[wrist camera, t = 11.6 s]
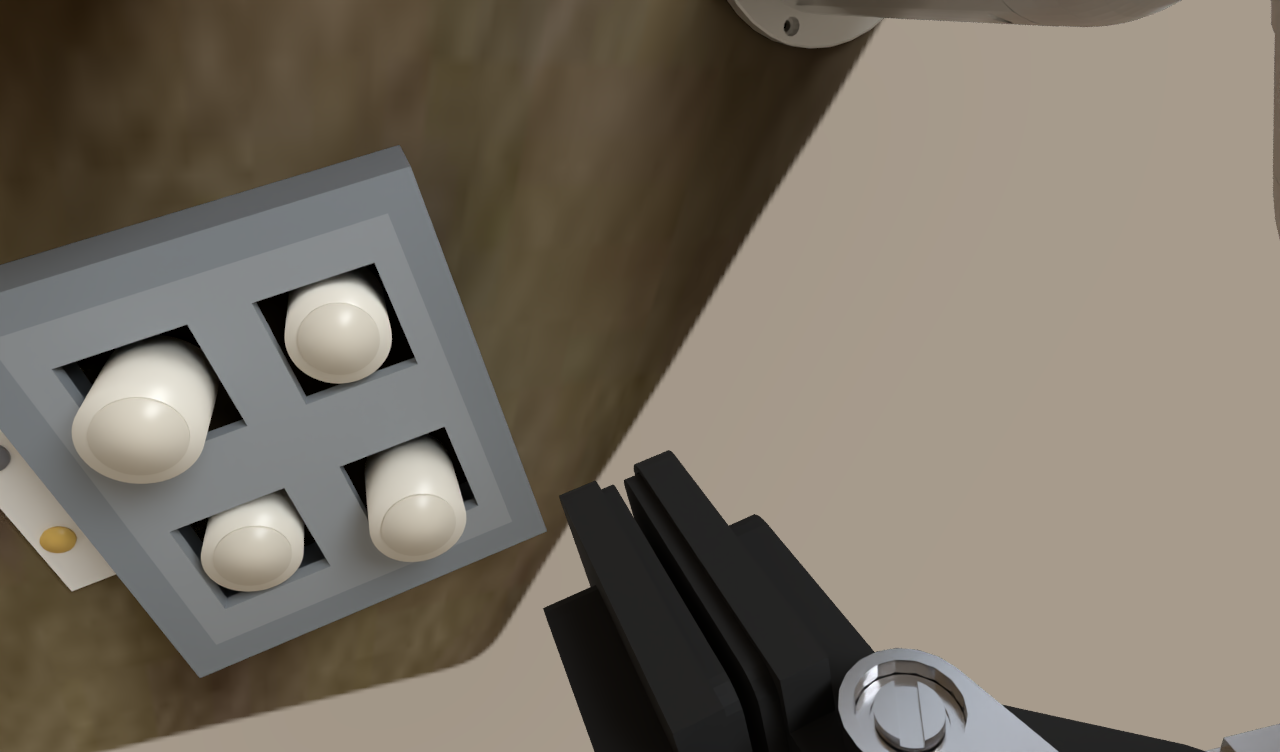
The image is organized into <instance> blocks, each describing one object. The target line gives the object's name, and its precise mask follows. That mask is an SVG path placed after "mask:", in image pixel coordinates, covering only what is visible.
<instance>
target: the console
mask: <svg viewBox="0 0 1280 752" xmlns="http://www.w3.org/2000/svg"><path fill="white" fill-rule="evenodd" d="M372 263H375V265H376V268H377V270H378V272H379V275H380V277H381V279H382V282H383V284H384V286H385V289H386V291H387V293H388V296H389V298H390V300H391V303H392V305H393V307H394V310H395V312H396V314H397V317H398V319H399V321H400V324H401V326H402V328H403V331H404V333H405V335H406V338H407V340H408V342H409V345H410V347H411V349H412V352H413V354H414V356H415V358H412V359H409V360H406V361H403V362H401V363H398V364H395V365H392V366H390V367H387V368H384V369H381V370H378V371H376V372H373V373H372V374H370V375H369V376H367V377H365V378H363V379H360V380H358V381H354V382H349V383H342V384H340V385H337V386H334V387H331V388H329V389H326V390H323V391H320V392H317V393H315V394H312V395H309V396H306V395H305V393H304V391H303V389H302V388H301V386H300V384H299V382H298V380H297V378H296V376H295V374H294V373H293V371H292V369H291V367H290V365H289V363H288V361H287V359H286V357H285V356H284V354H283V352H282V350H281V348H280V346H279V344H278V342H277V340H276V339H275V337H274V335H273V333H272V331H271V329H270V327H269V325H268V324H267V322H266V320H265V318H264V316H263V314H262V312H261V310H260V308H259V307H258V305H257V303H256V302H257V301H260V300H263V299H266V298H269V297H272V296H275V295H278V294H281V293H284V292H287V291H290V290H293V289H296V288H299V287H302V286H305V285H308V284H311V283H314V282H317V281H320V280H323V279H326V278H329V277H332V276H335V275H338V274H341V273H344V272H348V271H351V270H354V269H357V268H360V267H363V266H366V265H369V264H372ZM184 325H188V327H189V328H190V330H191V332H192V333H193V335H194V337H195V339H196V340H197V342H198V344H199V345H200V347H201V349H202V350H203V352H204V354H205V355H206V357H207V359H208V360H209V362H210V364H211V365H212V367H213V369H214V371H215V372H216V374H217V376H218V377H219V379H220V381H221V382H222V384H223V386H224V387H225V389H226V391H227V392H228V394H229V396H230V397H231V399H232V401H233V403H234V404H235V406H236V408H237V409H238V411H239V413H240V414H241V416H242V418H243V419H242V420H240V421H237V422H234V423H231V424H229V425H226V426H223V427H220V428H218V429H215V430H212V431H209V432H207V436H206V440H205V444H204V447H203V450H202V453H201V454H200V456H199V458H198V459H197V460H196V462H195V463H194V464H193V465H192V466H191V467H190V468H189V469H187V470H186V471H185V472H183V473H181V474H180V475H178V476H176V477H173V478H171V479H168V480H165V481H161V482H156V483H148V484H135V483H126V482H121V481H117V480H114V479H111V478H109V477H106V476H104V475H102V474H100V473H98V472H97V471H95V470H94V469H92V468H91V467H90V466H89V465H87V464H86V463H85V462H84V461H83V459H82V458H81V457H80V456H79V454H78V452H77V451H76V449H75V446H74V444H73V440H72V424H73V421H74V418H75V416H76V414H77V412H78V410H79V408H80V407H81V405H82V403H83V401H84V400H85V398H86V396H87V394H88V393H89V391H90V389H91V387H92V386H93V385H92V384H91V383H90V381H89V380H88V378H87V377H86V375H85V374H84V373H83V371H82V370H81V368H80V367H79V365H78V364H77V363H76V361H78V360H81V359H84V358H87V357H90V356H93V355H96V354H99V353H102V352H106V351H109V350H112V349H115V348H118V347H121V346H124V345H127V344H130V343H133V342H136V341H139V340H142V339H145V338H148V337H151V336H154V335H157V334H160V333H163V332H166V331H169V330H172V329H175V328H178V327H181V326H184ZM442 427H445V429H446V431H447V433H448V436H449V438H450V440H451V443H452V445H453V447H454V450H455V452H456V454H457V457H458V459H459V462H460V464H461V466H462V469H463V471H464V473H465V476H466V478H467V480H468V481H467V482H465V483H462V484H460V485H459V489H460V492H461V496H462V499H463V503H464V507H465V510H466V525H465V529H464V531H463V533H462V535H461V537H460V538H459V540H458V541H457V542H456V543H455V544H454V545H453V546H452V547H451V548H450V549H449V550H447V551H446V552H444V553H443V554H441V555H439V556H437V557H435V558H432V559H429V560H425V561H419V562H403V561H398V560H395V559H392V558H389V557H387V556H386V555H384V554H383V553H381V552H380V551H379V550H378V549H377V548H376V547H375V545H374V543H373V542H372V539H371V536H370V531H369V520H368V512H367V510H366V508H365V506H364V504H363V502H362V501H361V499H360V497H359V495H358V493H357V491H356V489H355V487H354V486H353V484H352V482H351V480H350V478H349V476H348V474H347V472H346V470H345V469H344V467H343V465H346V464H348V463H351V462H354V461H356V460H359V459H361V458H364V457H367V456H369V455H372V454H374V453H377V452H380V451H382V450H385V449H388V448H390V447H393V446H395V445H398V444H401V443H403V442H406V441H408V440H411V439H414V438H416V437H419V436H422V435H424V434H427V433H429V432H432V431H435V430H437V429H440V428H442ZM0 430H1V431H2V433H3V434H4V435H5V436H6V438H7V439H8V440H9V441H10V442H11V444H12V445H13V446H14V447H15V449H16V450H17V451H18V452H19V454H20V455H21V456H22V457H23V459H24V460H25V461H26V462H27V464H28V465H29V466H30V467H31V469H32V470H33V471H34V472H35V474H36V475H37V476H38V477H39V479H40V480H41V481H42V482H43V484H44V485H45V486H46V487H47V489H48V490H49V491H50V492H51V494H52V495H53V496H54V497H55V498H56V500H57V501H58V502H59V503H60V505H61V506H62V507H63V508H64V510H65V511H66V512H67V513H68V515H69V516H70V517H71V518H72V520H73V521H74V522H75V523H76V525H77V526H78V527H79V528H80V530H81V531H82V532H83V533H84V535H85V536H86V537H87V538H88V540H89V541H90V542H91V543H92V545H93V546H94V547H95V548H96V549H97V551H98V552H99V553H100V554H101V556H102V557H103V558H104V559H105V561H106V562H107V563H108V564H109V566H110V567H111V568H112V569H113V571H114V572H115V573H116V574H117V576H118V577H119V578H120V579H121V581H122V582H123V583H124V584H125V586H126V587H127V588H128V589H129V591H130V592H131V593H132V594H133V596H134V597H135V598H136V599H137V600H138V602H139V603H140V604H141V605H142V607H143V608H144V609H145V610H146V612H147V613H148V614H149V615H150V617H151V618H152V619H153V620H154V622H155V623H156V624H157V625H158V627H159V628H160V629H161V630H162V632H163V633H164V634H165V635H166V637H167V638H168V639H169V640H170V642H171V643H172V644H173V645H174V647H175V648H176V649H177V650H178V652H179V653H180V654H181V655H182V656H183V658H184V659H185V660H186V661H187V663H188V664H189V665H190V666H191V668H192V669H193V670H194V671H195V673H196V674H197V675H198V676H199V678H201V677H204V676H206V675H209V674H211V673H213V672H216V671H218V670H220V669H223V668H225V667H227V666H230V665H232V664H235V663H237V662H239V661H242V660H244V659H246V658H249V657H251V656H253V655H256V654H258V653H261V652H263V651H265V650H268V649H270V648H272V647H275V646H277V645H279V644H282V643H284V642H286V641H289V640H291V639H294V638H296V637H298V636H301V635H303V634H305V633H308V632H310V631H312V630H315V629H317V628H320V627H322V626H324V625H327V624H329V623H331V622H334V621H336V620H338V619H341V618H343V617H346V616H348V615H350V614H353V613H355V612H357V611H360V610H362V609H364V608H367V607H369V606H372V605H374V604H376V603H379V602H381V601H383V600H386V599H388V598H390V597H393V596H395V595H398V594H400V593H402V592H405V591H407V590H409V589H412V588H414V587H416V586H419V585H421V584H423V583H426V582H428V581H431V580H433V579H435V578H438V577H440V576H442V575H445V574H447V573H449V572H452V571H454V570H457V569H459V568H461V567H464V566H466V565H468V564H471V563H473V562H475V561H478V560H480V559H483V558H485V557H487V556H490V555H492V554H494V553H497V552H499V551H501V550H504V549H506V548H509V547H511V546H513V545H516V544H518V543H520V542H523V541H525V540H527V539H530V538H532V537H535V536H537V535H539V534H542V533H544V532H546V531H547V529H546V527H545V524H544V521H543V519H542V516H541V513H540V511H539V508H538V505H537V503H536V500H535V497H534V495H533V492H532V489H531V487H530V484H529V481H528V479H527V476H526V473H525V471H524V468H523V465H522V463H521V460H520V457H519V455H518V452H517V449H516V447H515V444H514V441H513V439H512V436H511V433H510V431H509V428H508V425H507V423H506V420H505V417H504V415H503V412H502V409H501V407H500V404H499V401H498V399H497V396H496V393H495V391H494V388H493V385H492V383H491V380H490V377H489V375H488V372H487V369H486V367H485V364H484V361H483V359H482V356H481V353H480V351H479V348H478V345H477V343H476V340H475V337H474V335H473V332H472V329H471V327H470V324H469V321H468V319H467V316H466V313H465V311H464V308H463V305H462V303H461V300H460V297H459V295H458V292H457V289H456V287H455V284H454V281H453V279H452V276H451V273H450V271H449V268H448V265H447V263H446V260H445V257H444V255H443V252H442V249H441V247H440V244H439V241H438V239H437V236H436V233H435V231H434V228H433V225H432V223H431V220H430V217H429V215H428V212H427V209H426V207H425V204H424V201H423V199H422V196H421V193H420V191H419V188H418V185H417V183H416V180H415V177H414V175H413V172H412V169H411V167H410V164H409V163H408V161H407V159H406V157H405V155H404V153H403V151H402V149H401V147H400V145H398V146H394V147H391V148H388V149H384V150H381V151H378V152H374V153H371V154H368V155H364V156H361V157H358V158H354V159H351V160H348V161H345V162H341V163H338V164H335V165H331V166H328V167H325V168H321V169H318V170H315V171H311V172H308V173H305V174H301V175H298V176H295V177H291V178H288V179H285V180H281V181H278V182H275V183H271V184H268V185H265V186H261V187H258V188H255V189H251V190H248V191H245V192H241V193H238V194H235V195H231V196H228V197H225V198H221V199H218V200H215V201H211V202H208V203H205V204H202V205H198V206H195V207H192V208H188V209H185V210H182V211H178V212H175V213H172V214H168V215H165V216H162V217H158V218H155V219H152V220H148V221H145V222H142V223H138V224H135V225H132V226H128V227H125V228H122V229H118V230H115V231H112V232H108V233H105V234H102V235H98V236H95V237H92V238H88V239H85V240H82V241H78V242H75V243H72V244H68V245H65V246H62V247H59V248H55V249H52V250H49V251H45V252H42V253H39V254H35V255H32V256H29V257H25V258H22V259H19V260H15V261H12V262H9V263H5V264H2V265H0ZM283 488H285V490H286V492H287V494H288V495H289V497H290V499H291V500H292V502H293V504H294V505H295V507H296V509H297V510H298V512H299V514H300V515H301V517H302V519H303V520H304V522H305V524H306V526H307V527H308V529H309V531H310V532H311V534H312V536H313V537H314V539H315V541H316V542H315V543H312V544H310V545H307V546H305V547H304V552H303V559H302V561H301V564H300V566H299V567H298V569H297V570H296V572H295V573H294V574H293V575H292V576H291V577H290V578H288V579H287V580H286V581H284V582H282V583H281V584H279V585H276V586H274V587H271V588H269V589H265V590H260V591H250V592H248V591H236V590H232V589H228V588H226V587H223V586H221V585H219V584H217V583H216V582H214V581H213V580H212V579H211V578H210V577H209V576H208V575H207V574H206V572H205V571H204V569H203V566H202V563H201V551H202V546H203V543H202V541H201V540H200V538H199V537H198V536H197V534H196V533H195V531H194V530H193V528H192V527H191V526H190V524H191V523H194V522H197V521H199V520H202V519H205V518H207V517H210V516H212V515H215V514H218V513H220V512H223V511H225V510H228V509H231V508H233V507H236V506H238V505H241V504H244V503H246V502H249V501H252V500H254V499H257V498H259V497H262V496H265V495H267V494H270V493H272V492H275V491H278V490H280V489H283Z"/></svg>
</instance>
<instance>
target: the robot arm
mask: <svg viewBox="0 0 1280 752" xmlns="http://www.w3.org/2000/svg"><path fill="white" fill-rule="evenodd" d="M727 1H728V2H729V4H730V5H731V6H732V8H733V9H734V11H735V12H736V13H737V15H738V16H739V17H741V18H742V19H743V20H744V21H745V22H746V23H747V24H748V25H749V26H750V27H751V28H752V29H753V30H755V31H757V32H758V33H760V34H762V35H763V36H765V37H767V38H769V39H770V40H772V41H775V42H779V43H782V44H785V45H789V46H792V47H803V48H824V47H832V46H836V45H839V44H842V43H845V42H848V41H851V40H853V39H855V38H857V37H858V36H860V35H862V34H864V33H866V32H867V31H869V30H871V29H872V28H873V27H874V26H876V25H877V24H878V23H879V22H880V21H882V20H883V19H884V18H898V19H917V20H938V21H939V20H940V21H958V22H978V23H999V24H1000V23H1001V24H1018V25H1038V26H1070V27H1099V26H1109V25H1115V24H1121V23H1126V22H1130V21H1134V20H1138V19H1140V18H1143V17H1146V16H1149V15H1152V14H1154V13H1157V12H1159V11H1162V10H1164V9H1166V8H1168V7H1170V6H1172V5H1174V4H1176V3H1177V2H1179V1H1181V0H727ZM784 23H786V28H785V30H784ZM1271 25H1272V28H1273V31H1274V33H1275V57H1274V61H1275V62H1274V134H1273V197H1274V209H1275V220H1276V225H1277V230H1278V234H1279V239H1280V0H1271ZM634 472H635V476H632V477H630V478H628V479H625V480H624V485H625V489H626V492H627V496H628V499H629V502H630V505H631V509H632V513H633V516H634V517H633V516H632V514H631V513H630V511H629V509H628V507H627V505H626V504H625V502H624V501H623V499H622V497H621V496H620V494H619V492H618V490H617V489H616V487H615V486H614V485H611V486H608V487H606V488H604V489H601V488H600V487H599V485H598V483H597V482H596V481H593V482H591V483H589V484H586V485H584V486H581V487H579V488H577V489H574V490H572V491H569V492H567V493H564V494H562V495H560V496H559V497H560V501H561V504H562V507H563V510H564V512H565V515H566V518H567V521H568V524H569V527H570V529H571V532H572V535H573V538H574V541H575V544H576V546H577V549H578V552H579V555H580V558H581V561H582V563H583V566H584V568H585V572H586V575H587V578H588V580H589V583H590V586H591V587H590V588H588V589H586V590H583V591H581V592H579V593H577V594H574V595H572V596H570V597H567V598H565V599H563V600H561V601H558V602H556V603H554V604H552V605H549V606H547V607H545V608H543V609H544V612H545V615H546V618H547V621H548V624H549V627H550V629H551V632H552V635H553V638H554V640H555V643H556V646H557V649H558V651H559V654H560V657H561V660H562V663H563V665H564V668H565V671H566V674H567V677H568V679H569V682H570V685H571V688H572V690H573V693H574V696H575V698H576V701H577V704H578V707H579V710H580V713H581V715H582V718H583V721H584V724H585V726H586V729H587V732H588V735H589V737H590V740H591V743H592V746H593V749H594V752H1280V724H1277V725H1273V726H1269V727H1265V728H1261V729H1257V730H1252V731H1248V732H1244V733H1240V734H1236V735H1233V736H1229V737H1224V738H1223V741H1222V745H1221V747H1219V748H1215V749H1211V750H1207V751H1202V750H1200V749H1197V748H1194V747H1190V746H1188V745H1184V744H1179V743H1175V742H1170V741H1166V740H1161V739H1157V738H1152V737H1147V736H1143V735H1138V734H1134V733H1129V732H1124V731H1120V730H1115V729H1111V728H1106V727H1102V726H1097V725H1092V724H1088V723H1083V722H1079V721H1074V720H1070V719H1065V718H1060V717H1056V716H1051V715H1047V714H1042V713H1038V712H1033V711H1028V710H1023V709H1019V708H1015V707H1010V706H1006V705H1001V704H1000V703H999V702H998V701H996V700H995V699H994V698H993V697H992V696H990V695H989V694H988V693H987V692H986V691H984V690H983V689H982V688H981V687H979V686H978V685H977V684H976V683H975V682H973V681H972V680H971V679H970V678H969V677H967V676H966V675H965V674H964V673H963V672H961V671H960V670H959V669H958V668H956V667H954V666H953V665H951V664H950V663H948V662H947V661H945V660H943V659H942V658H940V657H938V656H935V655H932V654H929V653H926V652H923V651H920V650H915V649H902V648H894V649H889V650H883V651H877V652H874V651H873V650H872V649H871V647H870V646H869V645H868V644H867V643H866V641H865V640H864V639H863V638H862V637H861V635H860V634H859V633H858V632H857V631H856V629H855V628H854V627H853V626H852V625H851V623H850V622H849V621H848V620H847V619H846V618H845V616H844V615H843V614H842V613H841V612H840V610H839V609H838V608H837V607H836V606H835V604H834V603H833V602H832V601H831V600H830V598H829V597H828V596H827V595H826V594H825V592H824V591H823V590H822V589H821V588H820V587H819V585H818V584H817V583H816V582H815V580H814V579H813V578H812V577H811V576H810V574H809V573H808V572H807V571H806V570H805V568H804V567H803V566H802V565H801V564H800V563H799V561H798V560H797V559H796V558H795V557H794V555H793V554H792V553H791V552H790V551H789V549H788V548H787V547H786V546H785V545H784V544H783V542H782V541H781V540H780V539H779V537H778V536H777V535H776V534H775V533H774V532H773V530H772V529H771V528H770V527H769V525H768V524H767V523H766V522H765V521H764V520H763V519H762V518H761V517H760V516H758V515H755V514H754V515H752V516H750V517H747V518H745V519H743V520H741V521H738V522H736V523H734V524H732V525H729V526H728V524H727V523H726V522H725V520H724V519H723V518H722V516H721V515H720V514H719V513H718V511H717V510H716V509H715V507H714V506H713V505H712V504H711V502H710V501H709V499H708V498H707V497H706V496H705V494H704V493H703V492H702V490H701V489H700V488H699V486H698V485H697V484H696V482H695V481H694V480H693V478H692V477H691V476H690V475H689V473H688V472H687V471H686V469H685V468H684V467H683V465H682V464H681V463H680V461H679V460H678V459H677V458H676V456H675V455H674V454H673V453H672V452H671V451H669V450H668V451H666V452H663V453H661V454H659V455H656V456H654V457H651V458H649V459H646V460H644V461H642V462H640V463H637V464H635V465H634Z"/></svg>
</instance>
